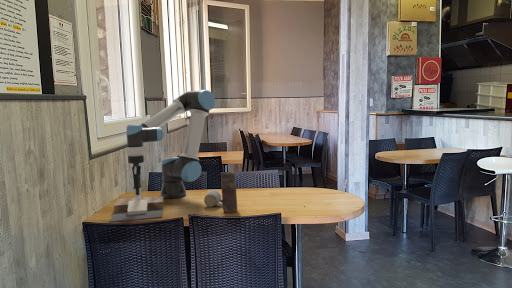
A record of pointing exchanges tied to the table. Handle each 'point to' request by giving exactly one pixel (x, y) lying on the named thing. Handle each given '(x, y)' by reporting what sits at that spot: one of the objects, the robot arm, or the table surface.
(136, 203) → the tile
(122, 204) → the riser
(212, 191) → the ceramic mug
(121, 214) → the mat
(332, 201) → the table surface
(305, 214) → the table surface
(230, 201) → the brown rectangular block
